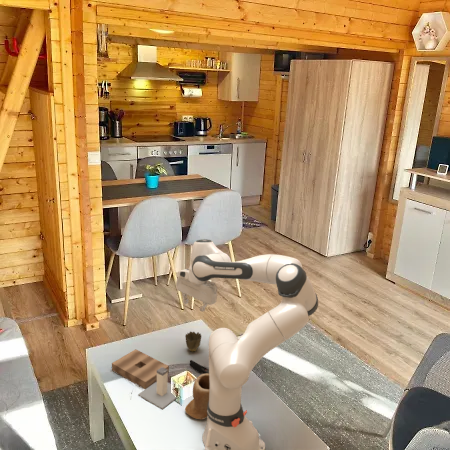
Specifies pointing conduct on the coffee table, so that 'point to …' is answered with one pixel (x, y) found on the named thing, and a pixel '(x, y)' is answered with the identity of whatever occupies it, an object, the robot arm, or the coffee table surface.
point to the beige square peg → (162, 381)
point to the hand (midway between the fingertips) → (193, 306)
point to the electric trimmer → (198, 367)
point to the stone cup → (199, 398)
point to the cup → (193, 341)
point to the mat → (158, 396)
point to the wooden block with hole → (138, 368)
